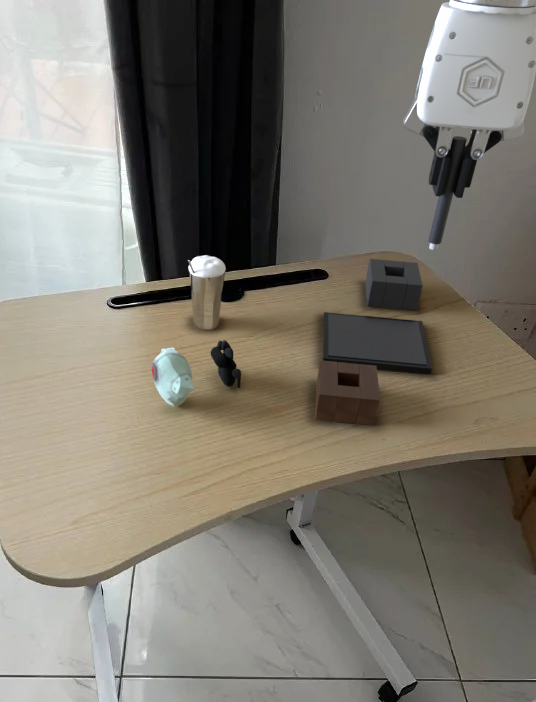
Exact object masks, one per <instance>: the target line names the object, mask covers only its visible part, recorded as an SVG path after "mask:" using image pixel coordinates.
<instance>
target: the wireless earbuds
mask: <svg viewBox="0 0 536 702" xmlns="http://www.w3.org/2000/svg"><path fill="white" fill-rule="evenodd" d="M210 357H211V359H212V360H213V362H214V364H215V365H216V367H217V373H218V376H219V379H221V381H222V383H223V385H224V386H226V387H232V386H234V385H235V384H236V389H237V390H240V389H241V385H242V370H241V369H239V368H237V367H238V366H237V365H238V364H237V362H236V361H235V360H234V350H233V348H232V347H231V345H230V343H229V342H228V341H227V340H225V339H224V340H218V342H217V344H216V346H213V347H212V348H211V350H210Z"/></svg>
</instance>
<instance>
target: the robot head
mask: <svg viewBox="0 0 536 702" xmlns="http://www.w3.org/2000/svg"><path fill="white" fill-rule="evenodd" d="M151 373H152V378H153V382H154V386H155V388H156V390H157V392H158V394H159V395H160V396H161V398H162V399H163V400H164V401H165V403H166V404H168V405H171V406H172V407H178V406H180V405H182V404H183V403H184V402H185V401H186V400H187V398H188V395H189V394H190V393H192V392H194V391H195V390H196V388H195V385H194V383H193V373H192V367H191V365H190V364H189V362H188V360H187V358H186V357H185V356H184V355H183V354H181V353H180V352H178V351H177V350H176V348H174V347H167V348H161V350H160V353H159V354H158V355H157V356H155V358H154V359H153V362H152V364H151Z"/></svg>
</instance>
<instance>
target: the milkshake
mask: <svg viewBox="0 0 536 702" xmlns="http://www.w3.org/2000/svg"><path fill="white" fill-rule="evenodd" d="M187 263H188V264H189V265H188V273H189V274H188V276H189V282H190V283H189V284H190V294H191V295H190V296H191V307H192V320H193V324H194V326H195V327H196V328H198V329H200V330H203V331H205V330H207V331H208V330H214V329H215V328H217V327H218V325H219V322H220V315H221V306H222V297H223V291H224V283H225V276H226V270H227V268H226V264H225V263H224V262H223V260H221V259H220V258H218V257H216V256H211V255H208V254H205V255H197V256H196V257H194V258H192V260H189V259H187Z"/></svg>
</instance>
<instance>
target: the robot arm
mask: <svg viewBox="0 0 536 702" xmlns="http://www.w3.org/2000/svg"><path fill="white" fill-rule="evenodd" d="M431 30H432V31H431V33H430V36H429V39H428V43H427V47H426V49H425V54H424V57H423V61H422V64H421V68H420V71H419V77H418V79H417V85H416V90H415V95H414V99H413V101H412V103H411V104H410V107H409V108H408V110H407V112H406V114H405V115H404V117H403V120H402V123H403V126H404V129H406V130H407V131H410V132H412V133H414V134H416V135H418V136H420V137H423V138H424V139H425V140H426V142H427V143H428V145H429V146H430V147H431V149H432V151H433V158H432V162H431V165H430V171H429V175H428V185H430V186H432V187H431V188H432V190H433V193H434V196H435V197H439V196H441V195H443V194H444V189H445V185H446V181H447V177H448V173H449V169H450V164H451V158H450V156H449V154H450V146H451V138H452V133H453V129H465V130H470V133H469V136H468V139H467V141H466V145H465V149H464V153H463V157H462V161H461V165H460V169H459V173H458V177H457V181H456V185H455V189H454V193H453V196H454V197H456V198H457V199H462V198H463V197H464V193H465V189H467V188H468V189H469V188H470V187H471V185H472V182H473V178H474V174H475V170H476V166H477V162H478V160H481V158H483V156H484V154H485V153H487V152H488V151H490V150H491V149H492V148H494V147H495V146H497V144H499V143H500V142H505V141H509V140H513V139H516V138H517V139H518V138H520V137H522V136H523V135H524V133H525V123H524V121H525V118H526V114H527V111H528V108H529V105H530V101H531V96H532V92H533V88H534V84H535V83H534V82H535V78H536V0H449V2H448V1H447V2H442V3H441V6H440V8H439V10H438V13H437V16H436V19H435V21H434V24H433V26H432V29H431Z"/></svg>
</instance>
